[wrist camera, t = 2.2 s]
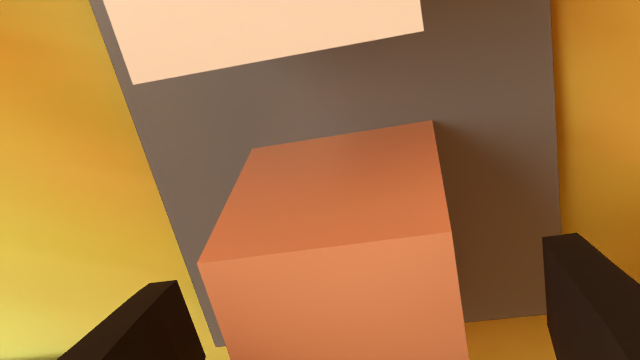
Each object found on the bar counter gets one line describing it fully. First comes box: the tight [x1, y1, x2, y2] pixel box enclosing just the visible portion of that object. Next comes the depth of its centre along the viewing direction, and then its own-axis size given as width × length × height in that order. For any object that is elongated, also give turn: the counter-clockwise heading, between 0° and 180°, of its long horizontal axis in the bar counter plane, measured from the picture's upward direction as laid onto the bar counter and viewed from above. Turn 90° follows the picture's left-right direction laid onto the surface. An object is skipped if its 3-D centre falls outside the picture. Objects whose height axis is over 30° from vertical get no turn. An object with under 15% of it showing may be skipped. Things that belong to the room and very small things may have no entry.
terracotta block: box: [197, 120, 469, 360], centre depth 12 cm, size 5×4×4 cm
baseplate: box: [89, 0, 561, 347], centre depth 13 cm, size 14×9×1 cm, turn 12°
